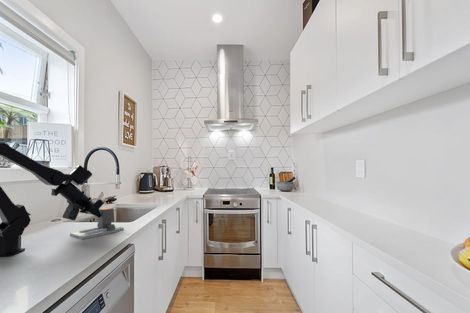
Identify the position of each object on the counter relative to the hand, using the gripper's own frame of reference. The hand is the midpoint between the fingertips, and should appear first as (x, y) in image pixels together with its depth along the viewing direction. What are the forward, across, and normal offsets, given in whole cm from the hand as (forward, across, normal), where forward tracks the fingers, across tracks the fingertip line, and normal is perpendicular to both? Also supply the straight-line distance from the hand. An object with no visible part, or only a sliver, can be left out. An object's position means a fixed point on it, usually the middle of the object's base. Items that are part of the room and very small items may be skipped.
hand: (99, 216), depth 110 cm
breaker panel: (+4, 0, -5) cm, 7 cm away
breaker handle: (+6, 0, -2) cm, 6 cm away
